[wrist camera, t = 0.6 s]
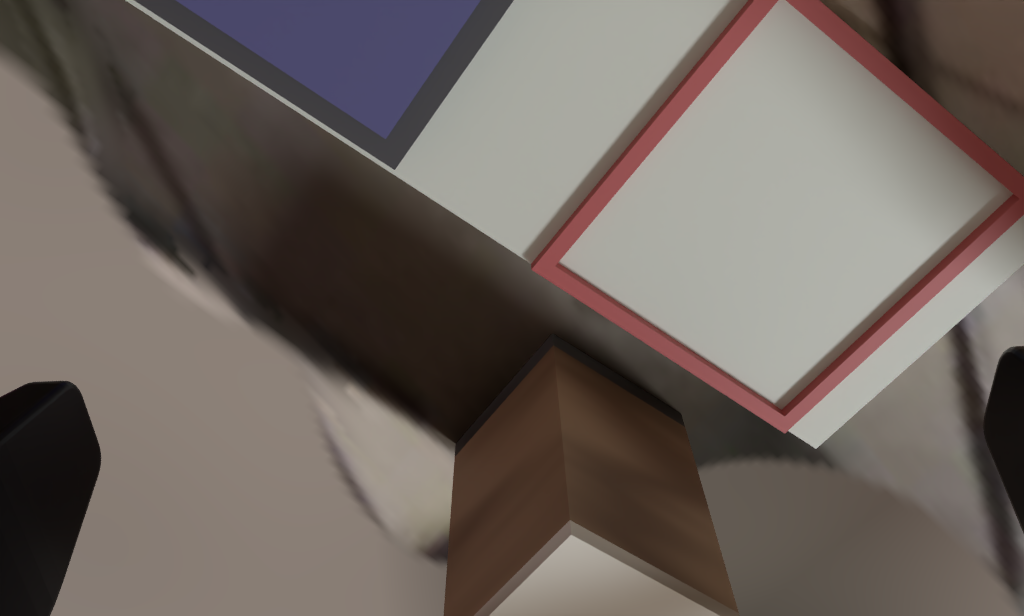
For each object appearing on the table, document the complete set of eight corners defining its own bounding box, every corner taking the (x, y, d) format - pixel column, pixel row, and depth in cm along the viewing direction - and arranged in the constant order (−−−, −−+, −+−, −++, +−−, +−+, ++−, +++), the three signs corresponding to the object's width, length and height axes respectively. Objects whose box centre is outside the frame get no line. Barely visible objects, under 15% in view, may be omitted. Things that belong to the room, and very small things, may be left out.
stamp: (681, 413, 25) (743, 628, 19) (580, 513, 27) (605, 740, 20) (552, 333, 24) (571, 534, 17) (455, 443, 25) (440, 663, 19)
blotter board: (1055, 206, 22) (1100, 240, 20) (807, 430, 25) (828, 475, 24) (244, -492, 15) (213, -526, 14) (54, -63, 19) (10, -49, 17)
